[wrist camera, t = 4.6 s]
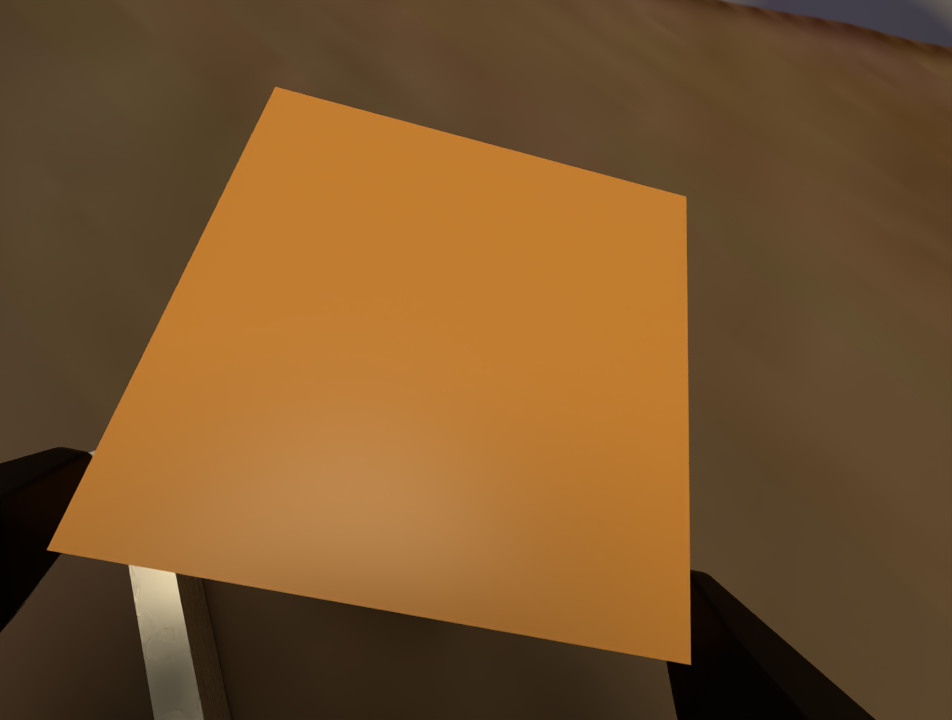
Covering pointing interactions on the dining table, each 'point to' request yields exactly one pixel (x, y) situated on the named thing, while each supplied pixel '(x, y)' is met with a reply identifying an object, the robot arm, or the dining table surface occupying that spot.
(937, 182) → the dining table surface
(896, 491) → the dining table surface
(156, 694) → the frame
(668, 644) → the cap
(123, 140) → the dining table surface
